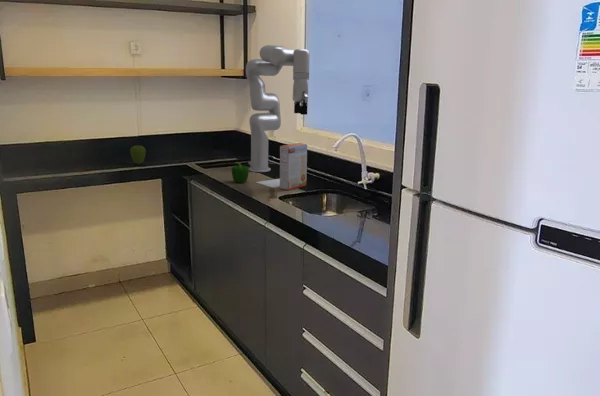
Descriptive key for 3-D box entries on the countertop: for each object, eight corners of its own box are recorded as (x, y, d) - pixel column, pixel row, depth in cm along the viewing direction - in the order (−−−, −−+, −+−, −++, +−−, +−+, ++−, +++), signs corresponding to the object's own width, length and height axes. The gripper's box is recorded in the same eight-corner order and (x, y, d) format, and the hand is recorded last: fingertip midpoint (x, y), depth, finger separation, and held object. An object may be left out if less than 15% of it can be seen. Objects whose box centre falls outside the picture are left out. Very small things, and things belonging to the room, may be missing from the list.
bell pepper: (252, 182, 256) (252, 162, 254) (239, 184, 250) (240, 164, 248) (241, 179, 262) (241, 160, 259) (228, 181, 256) (228, 162, 253)
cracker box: (297, 184, 255) (298, 142, 250) (306, 186, 251) (308, 143, 246) (278, 188, 244) (279, 145, 239) (288, 190, 240) (289, 146, 235)
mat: (255, 182, 255) (255, 182, 255) (283, 178, 266) (283, 177, 266) (273, 188, 245) (273, 187, 245) (301, 183, 256) (301, 182, 256)
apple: (128, 164, 293) (127, 144, 290) (142, 162, 298) (141, 143, 296) (134, 166, 287) (133, 146, 284) (148, 165, 292) (148, 144, 289)
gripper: (288, 76, 246) (287, 112, 249) (299, 76, 230) (298, 115, 233) (302, 77, 248) (302, 112, 252) (314, 76, 232) (314, 114, 236)
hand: (300, 113), depth 242 cm, fingers open, 9 cm apart
